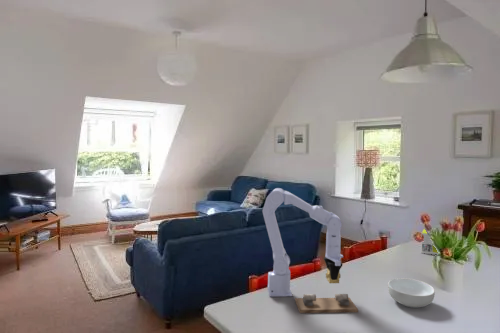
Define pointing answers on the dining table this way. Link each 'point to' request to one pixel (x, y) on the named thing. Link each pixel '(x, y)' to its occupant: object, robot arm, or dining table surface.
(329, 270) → the block
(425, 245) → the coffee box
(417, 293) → the cereal bowl
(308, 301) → the shaft stand
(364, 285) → the dining table surface
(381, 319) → the dining table surface
